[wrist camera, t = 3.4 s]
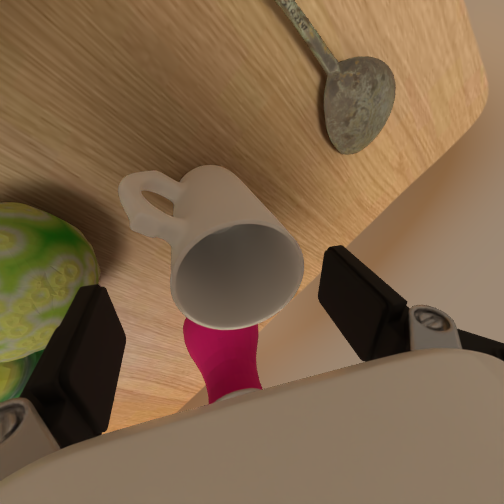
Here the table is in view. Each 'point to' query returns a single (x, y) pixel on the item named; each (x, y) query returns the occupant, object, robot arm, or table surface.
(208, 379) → the pepper mill
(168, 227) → the mug
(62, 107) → the table surface
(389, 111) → the soupspoon
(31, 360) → the toy
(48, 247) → the decorative ball
